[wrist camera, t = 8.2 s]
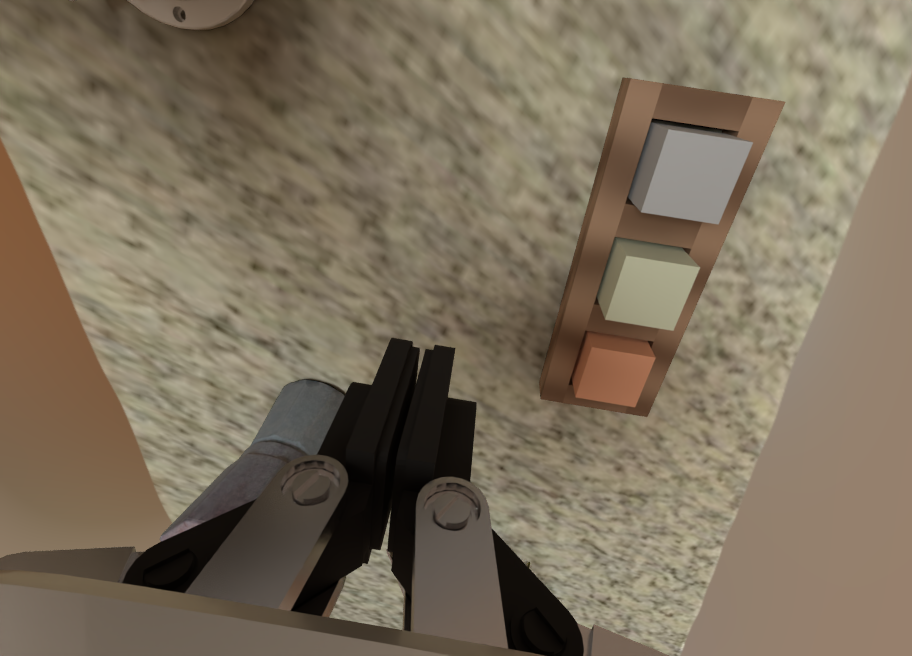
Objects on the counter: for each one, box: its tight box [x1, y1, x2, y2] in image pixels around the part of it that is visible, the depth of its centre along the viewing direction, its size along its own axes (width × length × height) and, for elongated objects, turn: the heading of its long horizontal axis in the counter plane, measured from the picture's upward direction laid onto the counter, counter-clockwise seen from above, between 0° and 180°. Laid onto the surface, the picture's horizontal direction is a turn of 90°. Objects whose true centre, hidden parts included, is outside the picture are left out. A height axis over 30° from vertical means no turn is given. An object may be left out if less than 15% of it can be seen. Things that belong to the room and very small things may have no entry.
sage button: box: [597, 237, 700, 331], centre depth 35 cm, size 5×5×4 cm
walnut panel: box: [539, 78, 785, 417], centre depth 36 cm, size 26×10×2 cm, turn 173°
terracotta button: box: [571, 330, 656, 407], centre depth 39 cm, size 5×5×4 cm
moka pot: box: [160, 380, 345, 541], centre depth 40 cm, size 10×15×20 cm, turn 112°
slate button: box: [628, 122, 753, 224], centre depth 31 cm, size 5×5×4 cm
